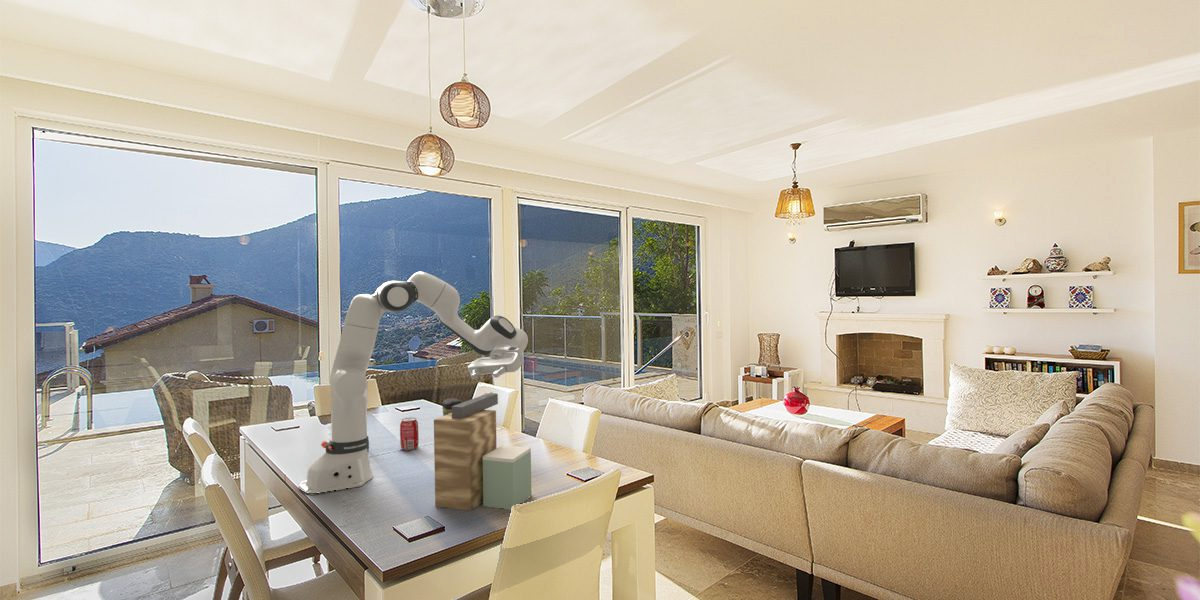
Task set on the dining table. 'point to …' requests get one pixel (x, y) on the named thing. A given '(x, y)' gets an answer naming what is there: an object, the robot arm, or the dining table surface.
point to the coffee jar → (449, 405)
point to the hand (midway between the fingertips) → (484, 376)
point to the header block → (506, 476)
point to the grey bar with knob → (474, 405)
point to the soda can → (409, 433)
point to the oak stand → (462, 458)
